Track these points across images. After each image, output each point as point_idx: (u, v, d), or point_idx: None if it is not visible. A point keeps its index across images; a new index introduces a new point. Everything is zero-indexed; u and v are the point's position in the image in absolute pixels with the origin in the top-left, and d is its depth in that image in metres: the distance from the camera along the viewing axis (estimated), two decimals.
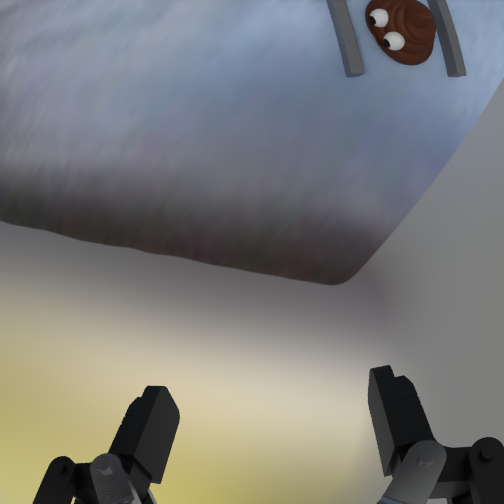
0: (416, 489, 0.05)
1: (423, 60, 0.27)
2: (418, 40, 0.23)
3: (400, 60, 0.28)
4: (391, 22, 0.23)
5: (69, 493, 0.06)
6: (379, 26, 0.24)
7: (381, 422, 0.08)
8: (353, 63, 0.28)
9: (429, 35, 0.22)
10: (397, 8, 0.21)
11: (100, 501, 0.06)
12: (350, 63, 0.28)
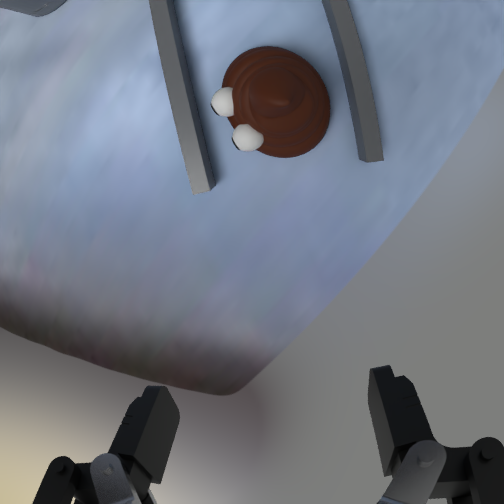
0: (415, 489, 0.05)
1: (308, 149, 0.24)
2: (280, 134, 0.20)
3: (271, 155, 0.24)
4: (238, 110, 0.20)
5: (69, 493, 0.06)
6: (226, 116, 0.21)
7: (381, 422, 0.08)
8: (194, 179, 0.25)
9: (298, 122, 0.19)
10: (242, 87, 0.18)
11: (100, 501, 0.06)
12: (191, 179, 0.25)
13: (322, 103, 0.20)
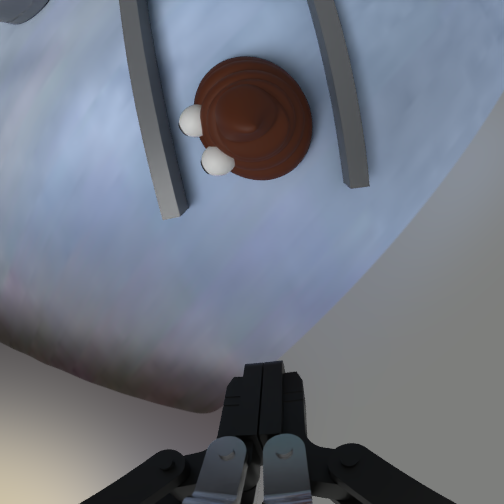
0: (292, 478, 0.06)
1: (286, 171, 0.22)
2: (251, 159, 0.18)
3: (246, 177, 0.23)
4: (206, 131, 0.18)
5: (160, 494, 0.06)
6: None
7: None
8: (164, 204, 0.23)
9: (271, 146, 0.17)
10: (209, 106, 0.17)
11: (198, 484, 0.07)
12: (161, 204, 0.23)
13: (301, 122, 0.19)
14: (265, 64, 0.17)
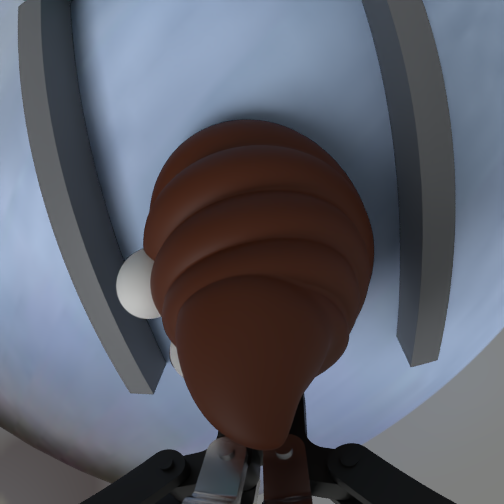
0: (292, 479, 0.06)
1: None
2: None
3: None
4: None
5: (160, 494, 0.06)
6: None
7: None
8: (128, 377, 0.14)
9: None
10: (163, 301, 0.07)
11: (198, 484, 0.07)
12: (123, 377, 0.14)
13: (364, 296, 0.09)
14: (295, 162, 0.08)
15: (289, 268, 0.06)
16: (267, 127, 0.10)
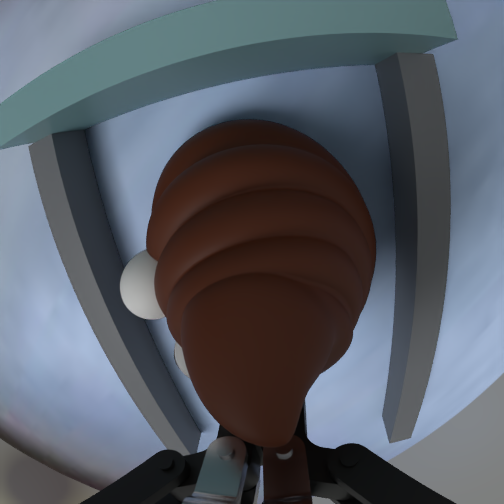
0: (292, 478, 0.06)
1: None
2: None
3: None
4: None
5: (160, 494, 0.06)
6: None
7: None
8: None
9: None
10: (168, 301, 0.07)
11: (198, 484, 0.07)
12: None
13: (367, 293, 0.09)
14: (296, 160, 0.08)
15: (292, 265, 0.06)
16: (267, 126, 0.10)
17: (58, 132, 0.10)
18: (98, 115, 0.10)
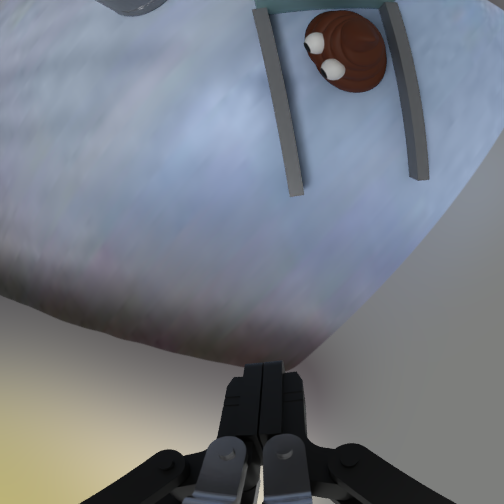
0: (292, 479, 0.06)
1: (373, 86, 0.27)
2: (360, 66, 0.23)
3: (344, 89, 0.28)
4: (328, 48, 0.23)
5: (160, 494, 0.06)
6: (315, 53, 0.25)
7: None
8: (292, 184, 0.31)
9: (374, 58, 0.22)
10: (333, 30, 0.21)
11: (198, 484, 0.07)
12: (290, 185, 0.31)
13: (385, 51, 0.23)
14: None
15: (365, 21, 0.20)
16: None
17: (267, 8, 0.24)
18: (285, 6, 0.24)
